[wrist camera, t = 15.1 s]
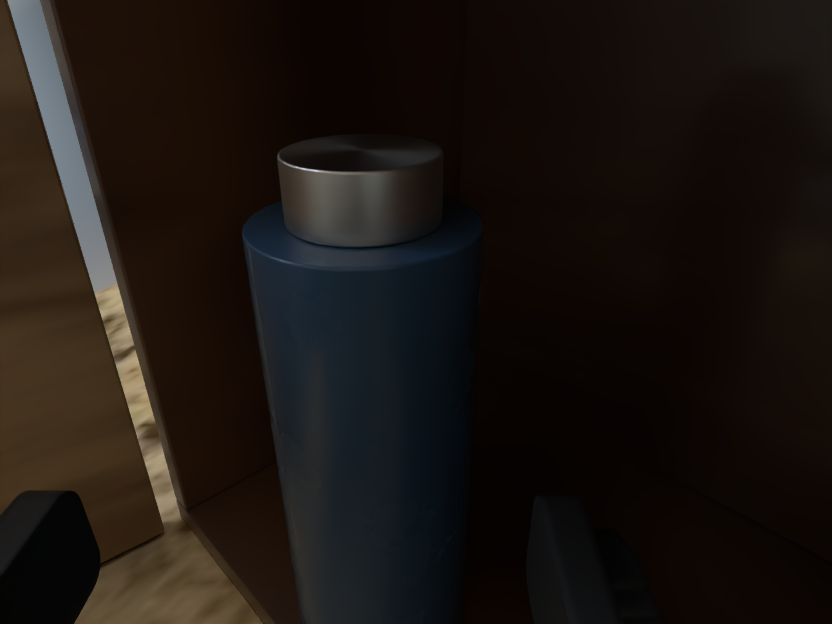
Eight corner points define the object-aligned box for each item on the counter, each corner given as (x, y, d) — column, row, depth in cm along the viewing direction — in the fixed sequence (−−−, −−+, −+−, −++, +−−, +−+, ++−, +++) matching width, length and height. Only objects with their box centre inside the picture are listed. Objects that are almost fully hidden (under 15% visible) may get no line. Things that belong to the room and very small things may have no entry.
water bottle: (496, 604, 19) (540, 150, 12) (373, 728, 16) (336, 206, 9) (389, 514, 22) (375, 117, 15) (269, 601, 19) (183, 150, 12)
